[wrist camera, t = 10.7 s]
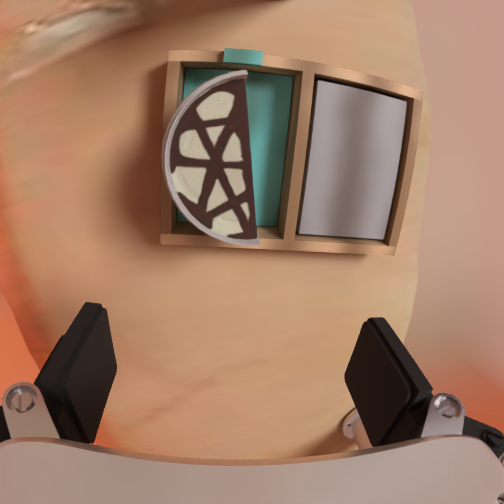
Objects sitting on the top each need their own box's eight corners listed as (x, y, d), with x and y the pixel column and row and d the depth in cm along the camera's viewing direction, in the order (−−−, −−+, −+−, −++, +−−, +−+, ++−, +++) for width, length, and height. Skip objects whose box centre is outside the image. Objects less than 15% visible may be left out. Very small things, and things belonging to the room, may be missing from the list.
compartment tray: (404, 91, 27) (428, 90, 23) (379, 242, 33) (397, 259, 30) (175, 56, 24) (167, 46, 20) (166, 230, 31) (158, 247, 27)
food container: (171, 90, 25) (145, 77, 16) (239, 83, 25) (247, 64, 16) (186, 217, 30) (171, 262, 21) (249, 210, 31) (261, 253, 21)
